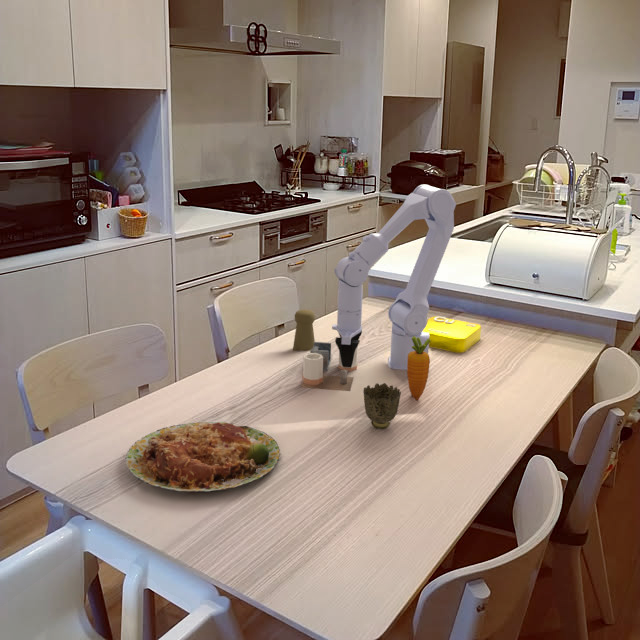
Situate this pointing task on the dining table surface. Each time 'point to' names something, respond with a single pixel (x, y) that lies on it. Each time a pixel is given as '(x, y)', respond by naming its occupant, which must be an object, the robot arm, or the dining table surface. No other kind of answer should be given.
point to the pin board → (334, 382)
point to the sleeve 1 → (313, 368)
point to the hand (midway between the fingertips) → (348, 362)
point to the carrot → (418, 368)
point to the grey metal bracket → (323, 353)
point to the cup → (381, 404)
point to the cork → (304, 330)
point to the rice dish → (202, 456)
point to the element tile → (452, 334)
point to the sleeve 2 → (354, 364)
